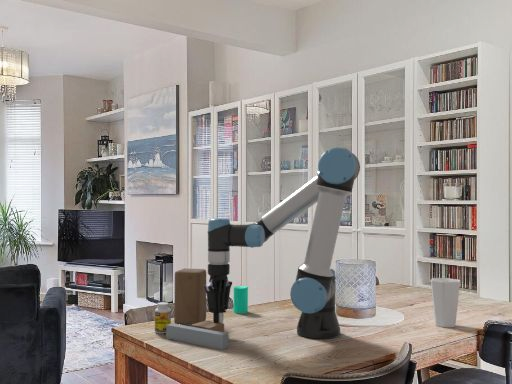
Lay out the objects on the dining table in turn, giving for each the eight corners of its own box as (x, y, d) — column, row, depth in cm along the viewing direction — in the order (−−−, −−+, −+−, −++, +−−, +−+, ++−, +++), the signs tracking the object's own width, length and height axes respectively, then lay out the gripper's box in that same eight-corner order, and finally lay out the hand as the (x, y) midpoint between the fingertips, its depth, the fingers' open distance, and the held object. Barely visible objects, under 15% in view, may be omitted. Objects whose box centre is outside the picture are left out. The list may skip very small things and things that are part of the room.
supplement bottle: (151, 333, 191) (152, 304, 191) (159, 329, 196) (159, 301, 196) (166, 334, 189) (166, 305, 189) (173, 331, 194) (173, 302, 194)
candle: (250, 311, 229) (250, 282, 229) (243, 314, 224) (244, 284, 224) (237, 310, 232) (237, 281, 232) (230, 312, 226) (231, 283, 226)
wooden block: (199, 326, 202) (199, 272, 202) (173, 324, 204) (173, 271, 204) (206, 320, 211) (207, 268, 212) (182, 319, 213) (182, 268, 214)
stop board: (228, 347, 173) (228, 333, 173) (222, 349, 170) (222, 335, 170) (172, 336, 186) (172, 323, 186) (166, 338, 184) (166, 324, 184)
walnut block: (224, 338, 185) (224, 323, 185) (209, 343, 178) (209, 328, 178) (205, 334, 190) (205, 320, 190) (190, 339, 183) (190, 324, 183)
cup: (433, 321, 212) (433, 277, 212) (461, 323, 207) (461, 279, 208) (429, 327, 202) (429, 281, 202) (458, 330, 197) (458, 283, 198)
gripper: (221, 260, 196) (221, 326, 195) (198, 264, 185) (197, 333, 185) (238, 262, 191) (238, 329, 191) (215, 265, 181) (215, 337, 180)
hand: (218, 331), depth 188 cm, fingers closed
